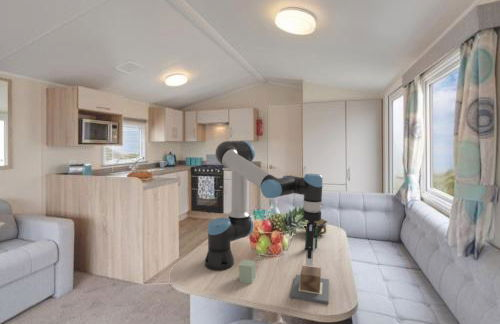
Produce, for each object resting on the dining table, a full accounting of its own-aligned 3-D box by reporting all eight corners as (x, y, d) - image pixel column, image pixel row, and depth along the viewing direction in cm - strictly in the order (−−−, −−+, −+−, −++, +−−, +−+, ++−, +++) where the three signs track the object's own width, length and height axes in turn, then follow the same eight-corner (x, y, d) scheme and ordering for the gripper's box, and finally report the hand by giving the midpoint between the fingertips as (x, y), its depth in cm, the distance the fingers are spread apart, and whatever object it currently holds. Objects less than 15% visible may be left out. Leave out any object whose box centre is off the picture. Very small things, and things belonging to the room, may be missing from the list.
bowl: (296, 234, 187) (296, 220, 186) (308, 228, 200) (309, 215, 200) (320, 240, 175) (320, 225, 175) (331, 233, 189) (331, 219, 188)
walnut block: (300, 289, 114) (300, 273, 113) (302, 280, 121) (302, 265, 121) (319, 292, 111) (320, 276, 111) (320, 283, 119) (320, 268, 118)
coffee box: (314, 246, 164) (314, 225, 164) (317, 248, 162) (318, 226, 161) (304, 249, 160) (305, 227, 159) (308, 250, 158) (308, 229, 157)
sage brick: (239, 281, 123) (239, 264, 122) (243, 275, 128) (243, 259, 128) (251, 283, 121) (251, 266, 120) (255, 277, 127) (255, 261, 126)
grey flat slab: (290, 297, 110) (290, 294, 110) (296, 276, 127) (296, 274, 127) (328, 304, 106) (328, 301, 105) (328, 281, 123) (328, 279, 123)
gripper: (320, 219, 101) (317, 273, 103) (322, 204, 125) (320, 248, 126) (300, 217, 103) (298, 270, 105) (306, 202, 127) (304, 246, 129)
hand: (310, 258), depth 116 cm, fingers open, 13 cm apart
